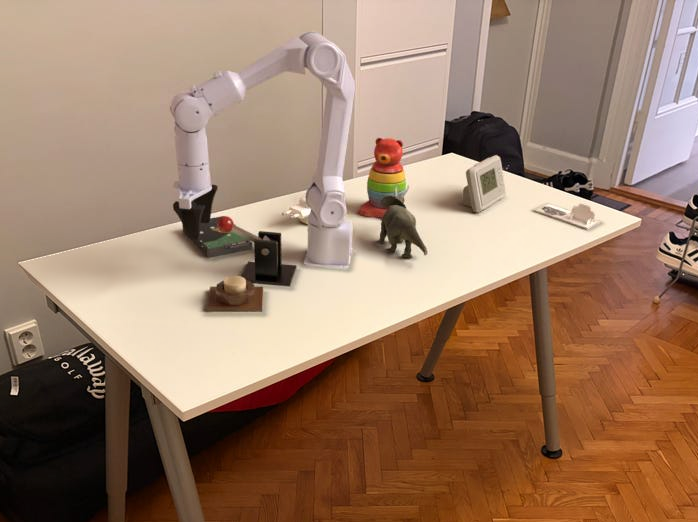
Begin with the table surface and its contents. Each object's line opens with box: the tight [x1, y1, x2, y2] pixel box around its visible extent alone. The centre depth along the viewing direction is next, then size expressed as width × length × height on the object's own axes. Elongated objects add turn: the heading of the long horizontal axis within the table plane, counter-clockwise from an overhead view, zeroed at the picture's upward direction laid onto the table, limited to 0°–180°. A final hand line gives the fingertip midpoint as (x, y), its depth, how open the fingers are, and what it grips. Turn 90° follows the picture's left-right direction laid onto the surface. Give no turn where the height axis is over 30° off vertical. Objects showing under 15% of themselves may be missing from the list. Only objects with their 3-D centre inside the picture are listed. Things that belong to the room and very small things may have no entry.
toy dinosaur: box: [375, 184, 428, 259], centre depth 156 cm, size 22×8×11 cm, turn 12°
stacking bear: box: [357, 137, 407, 219], centre depth 171 cm, size 11×10×18 cm
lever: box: [217, 215, 276, 243], centre depth 140 cm, size 12×3×3 cm, turn 86°
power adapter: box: [281, 196, 311, 225], centre depth 166 cm, size 11×5×6 cm, turn 137°
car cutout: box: [533, 202, 602, 231], centre depth 179 cm, size 15×7×4 cm, turn 47°
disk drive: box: [181, 215, 253, 259], centre depth 156 cm, size 10×3×15 cm
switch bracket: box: [240, 230, 297, 287], centre depth 142 cm, size 10×8×9 cm
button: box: [223, 275, 246, 293], centre depth 133 cm, size 4×4×2 cm
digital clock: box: [461, 154, 507, 213], centre depth 182 cm, size 16×9×11 cm, turn 134°
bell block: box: [206, 280, 264, 313], centre depth 134 cm, size 10×8×4 cm
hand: (198, 230), depth 140 cm, fingers open, 7 cm apart
